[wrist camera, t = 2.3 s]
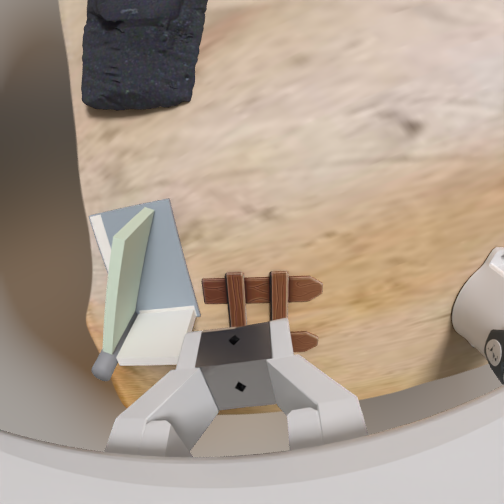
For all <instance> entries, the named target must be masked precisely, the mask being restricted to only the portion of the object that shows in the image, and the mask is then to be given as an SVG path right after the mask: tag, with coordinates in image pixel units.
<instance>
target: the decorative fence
mask: <svg viewBox="0 0 504 504" xmlns="http://www.w3.org/2000/svg"><path fill="white" fill-rule="evenodd" d="M202 288H203V295H204V302H205V304H221V303H228V310H229V320H230V327H239V326H246V325H247V318H246V303H271V321H272V320H277V319H282V318H287V319H288V302H299V301H310V300H312V299H313V298H315V297H317V296H319V295H320V294H322V292H323V283H322V282H320V281H318V280H317V279H315V278H313V277H311V276H289V273H288V271H271V272H270V277H255V278H244V273H243V272H227V273H226V274H225V278H214V279H202ZM290 334H291V340H292V346H293V352H305V351H307V350H309V349H311V348H313V347H315V346H317V345H318V336H316V335H314V334H311V333H309V332H307V331H301V332H290Z"/></svg>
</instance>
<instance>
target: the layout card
mask: <svg viewBox="0 0 504 504" xmlns="http://www.w3.org/2000/svg"><path fill="white" fill-rule="evenodd" d="M144 207H147V208H150V209H153V210H154V215H153V219H152V223H151V228H150V233H149V237H148V242H147V247H146V252H145V257H144V263H143V268H142V273H141V279H140V285H139V291H138V297H137V303H136V309H135V312H137V314H144V313H156V312H167V311H178V310H188V309H194V312H195V315H196V317H199V316H200V315H201V314H200V311H199V307H198V304H197V300H196V297H195V294H194V290H193V287H192V283H191V280H190V276H189V272H188V269H187V265H186V262H185V258H184V254H183V250H182V247H181V243H180V239H179V235H178V231H177V227H176V223H175V219H174V215H173V211H172V207H171V203H170V199H163V200H158V201H153V202H149V203H144V204H139V205H134V206H129V207H125V208H120V209H116V210H111V211H107V212H103V213H98V214H94V215H90V216H89V219H90V222H91V225H92V228H93V232H94V235H95V238H96V241H97V244H98V247H99V250H100V253H101V255H102V258H103V261H104V264H105V267H106V269H107V272H109V263H110V255H111V248H112V241H113V236H114V235H115V234H116V233H118V232H119V231H120V230H121V229H122V228H123V227H124V226H125V225H126V224H127V223H128V222H129V221H130V220H131V219H132V218H133V217H135V216H136V215H137V214H138V213H139V212H140V211H141V210H142V209H143V208H144Z"/></svg>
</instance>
